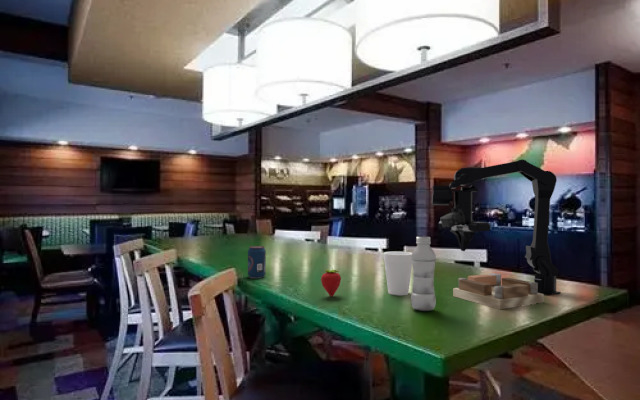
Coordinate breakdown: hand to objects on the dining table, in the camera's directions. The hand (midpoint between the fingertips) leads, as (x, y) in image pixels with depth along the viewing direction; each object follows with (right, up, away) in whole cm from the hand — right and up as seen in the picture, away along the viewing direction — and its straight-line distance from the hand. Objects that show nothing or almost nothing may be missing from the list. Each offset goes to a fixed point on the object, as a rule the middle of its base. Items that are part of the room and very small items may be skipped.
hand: (463, 250), depth 144 cm
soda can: (-74, -13, +22) cm, 78 cm away
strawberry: (-45, -13, -12) cm, 49 cm away
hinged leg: (+5, -10, -8) cm, 13 cm away
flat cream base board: (+5, -13, -15) cm, 21 cm away
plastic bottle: (-21, -13, -29) cm, 38 cm away
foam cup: (-23, -13, -7) cm, 28 cm away
